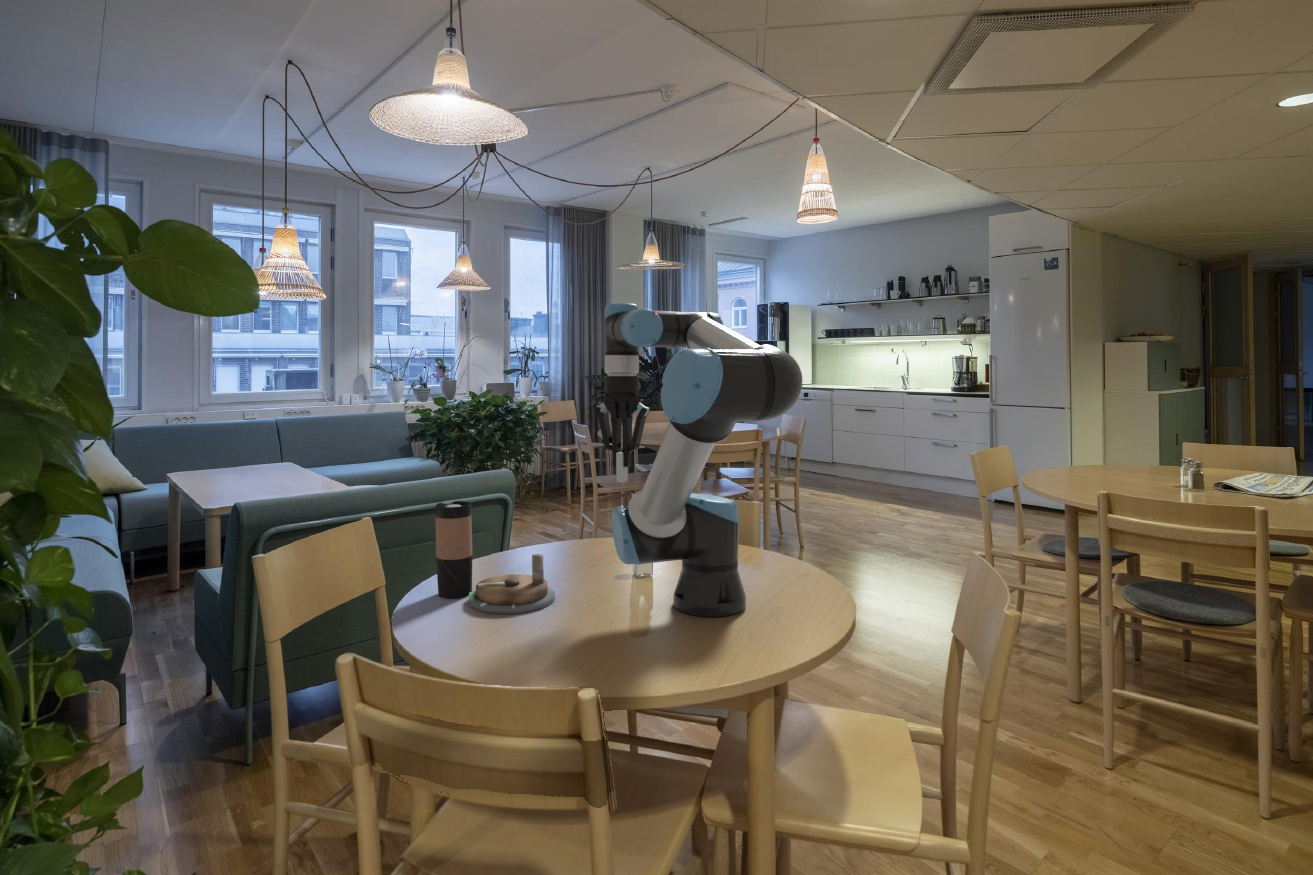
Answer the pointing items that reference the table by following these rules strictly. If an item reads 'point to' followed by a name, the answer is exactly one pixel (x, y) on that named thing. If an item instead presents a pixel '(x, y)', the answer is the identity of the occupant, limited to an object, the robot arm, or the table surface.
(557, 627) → the table surface
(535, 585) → the dial
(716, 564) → the robot arm
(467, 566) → the travel mug
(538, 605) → the gauge plate
